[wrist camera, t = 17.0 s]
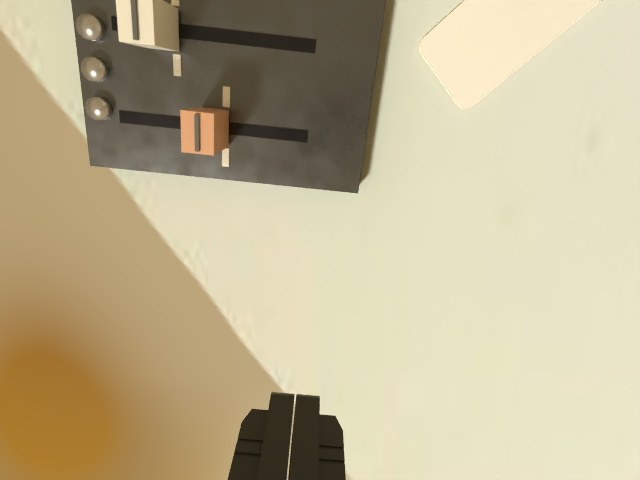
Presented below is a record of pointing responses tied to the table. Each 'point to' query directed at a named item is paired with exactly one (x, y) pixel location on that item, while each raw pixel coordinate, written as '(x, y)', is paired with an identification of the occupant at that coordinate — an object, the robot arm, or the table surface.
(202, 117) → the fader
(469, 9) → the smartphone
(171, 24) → the fader
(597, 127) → the table surface
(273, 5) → the console
